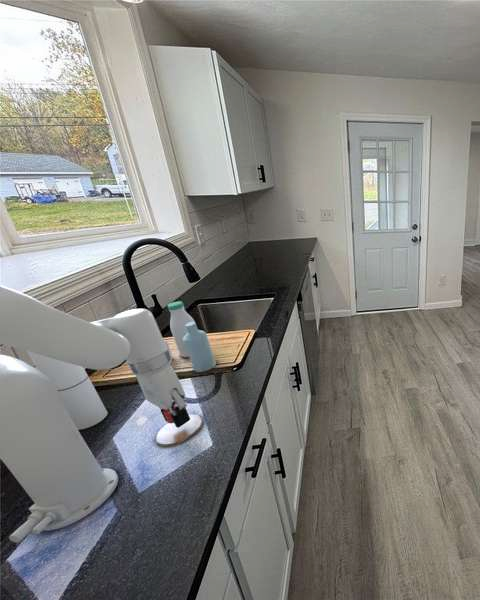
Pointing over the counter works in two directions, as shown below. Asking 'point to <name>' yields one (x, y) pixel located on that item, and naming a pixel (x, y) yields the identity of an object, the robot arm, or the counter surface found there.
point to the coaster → (178, 431)
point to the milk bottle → (179, 325)
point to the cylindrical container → (73, 390)
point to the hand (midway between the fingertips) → (178, 420)
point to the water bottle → (198, 348)
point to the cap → (169, 414)
